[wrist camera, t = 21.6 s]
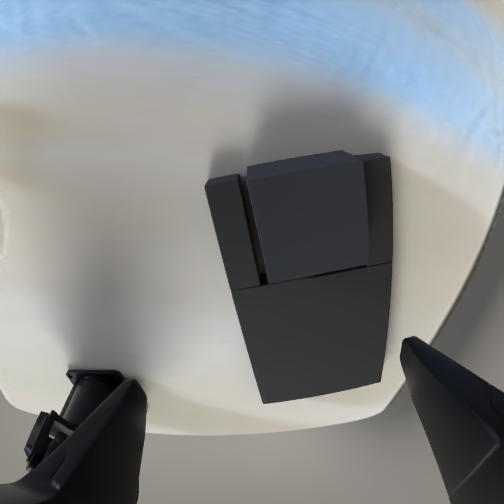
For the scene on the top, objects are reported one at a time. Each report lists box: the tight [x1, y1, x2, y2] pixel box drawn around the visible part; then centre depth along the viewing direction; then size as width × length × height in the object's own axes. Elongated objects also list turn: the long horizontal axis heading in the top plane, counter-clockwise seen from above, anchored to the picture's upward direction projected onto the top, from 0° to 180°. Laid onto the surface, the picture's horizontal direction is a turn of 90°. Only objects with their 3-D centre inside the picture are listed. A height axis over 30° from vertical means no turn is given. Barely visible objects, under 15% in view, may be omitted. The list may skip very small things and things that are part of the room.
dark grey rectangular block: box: [246, 150, 370, 283], centre depth 16 cm, size 5×5×4 cm
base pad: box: [205, 153, 393, 404], centre depth 20 cm, size 10×18×2 cm, turn 11°
